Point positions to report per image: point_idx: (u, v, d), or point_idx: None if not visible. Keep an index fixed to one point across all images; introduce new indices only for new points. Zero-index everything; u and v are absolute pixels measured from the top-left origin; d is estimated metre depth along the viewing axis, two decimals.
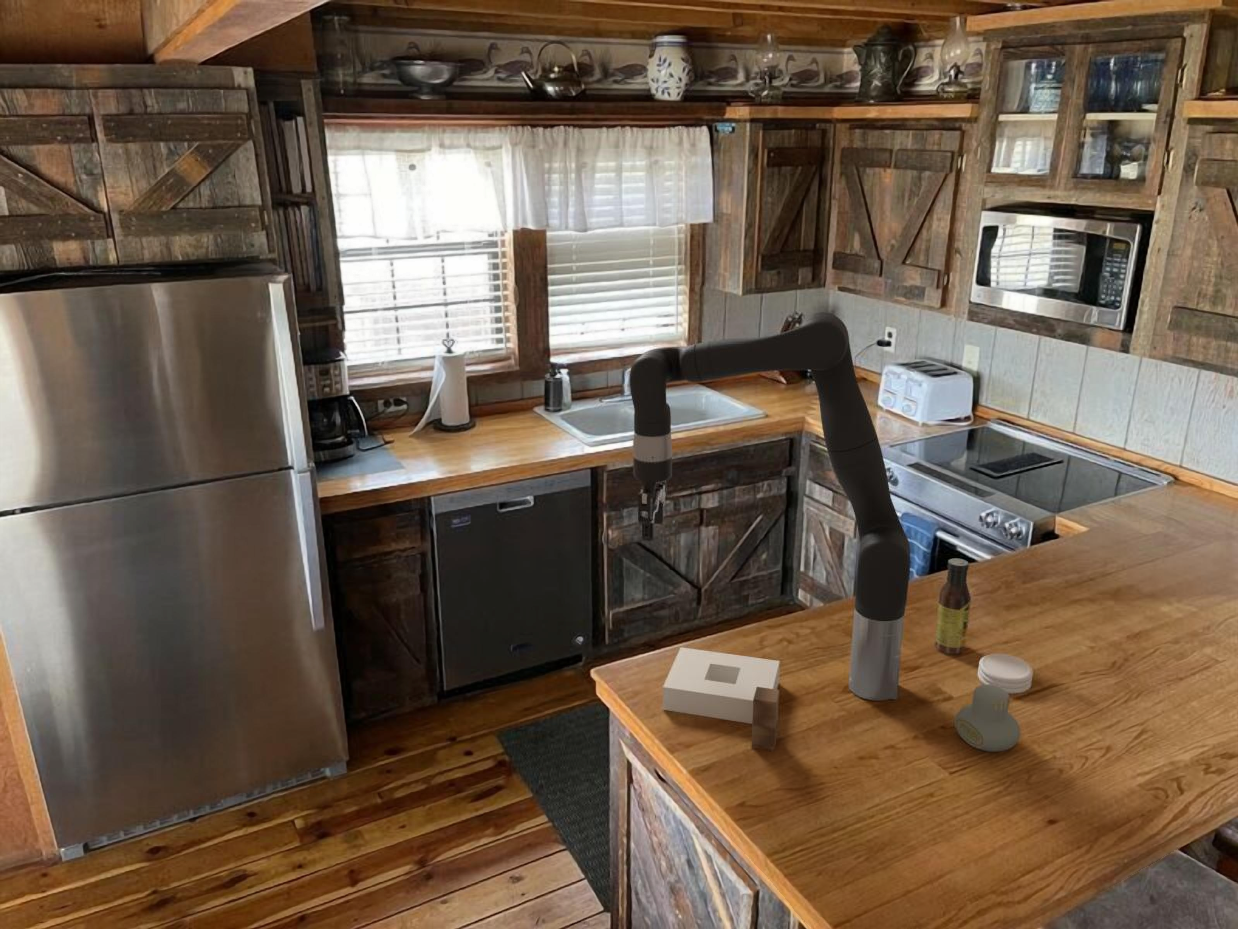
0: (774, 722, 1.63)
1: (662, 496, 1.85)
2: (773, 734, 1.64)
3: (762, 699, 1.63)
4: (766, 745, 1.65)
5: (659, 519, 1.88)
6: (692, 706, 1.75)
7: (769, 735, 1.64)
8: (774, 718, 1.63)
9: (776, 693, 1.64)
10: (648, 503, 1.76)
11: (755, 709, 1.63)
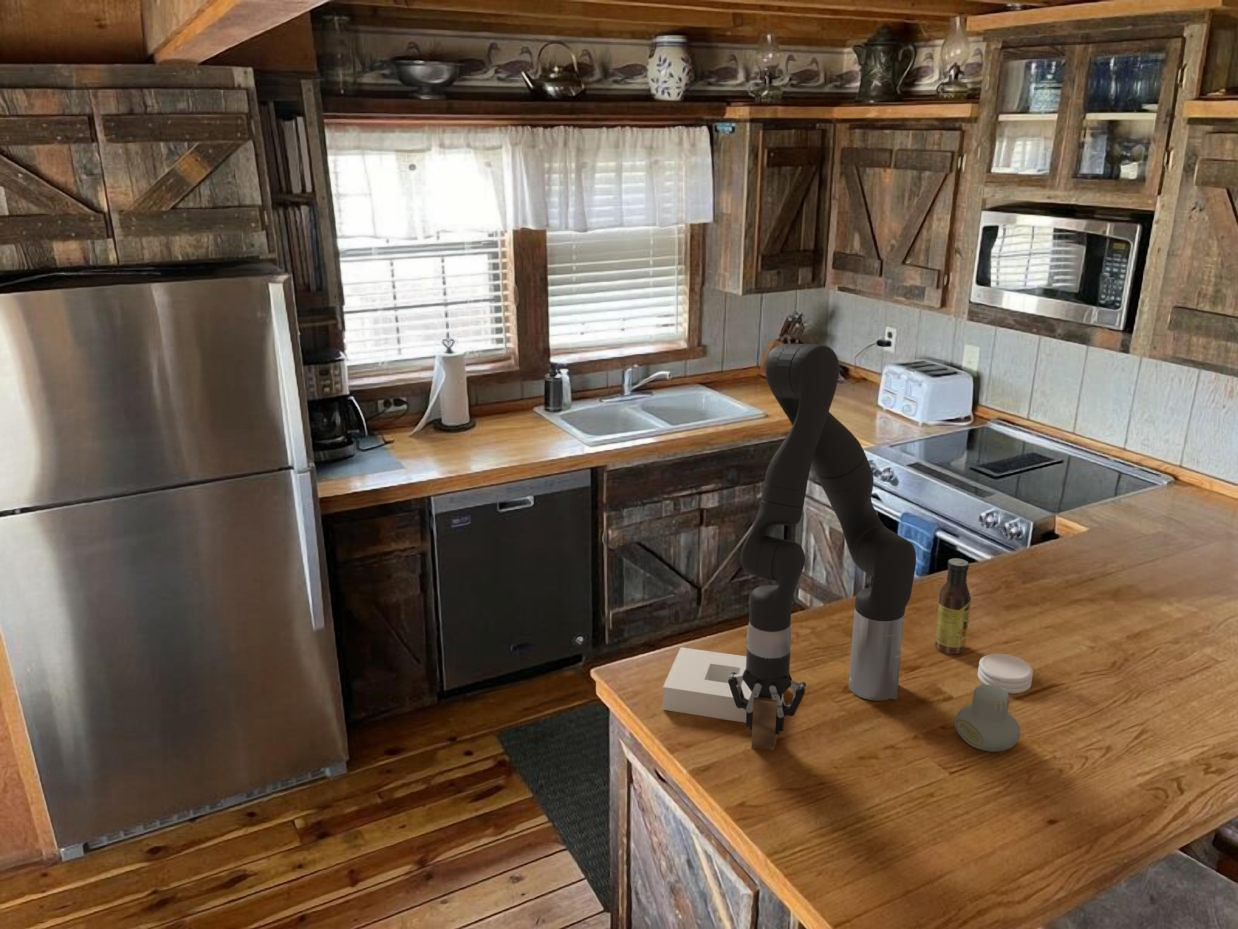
0: (774, 722, 1.63)
1: None
2: (773, 734, 1.64)
3: (762, 699, 1.62)
4: (766, 745, 1.65)
5: None
6: (692, 706, 1.75)
7: (769, 735, 1.64)
8: (774, 718, 1.63)
9: None
10: None
11: (756, 709, 1.63)
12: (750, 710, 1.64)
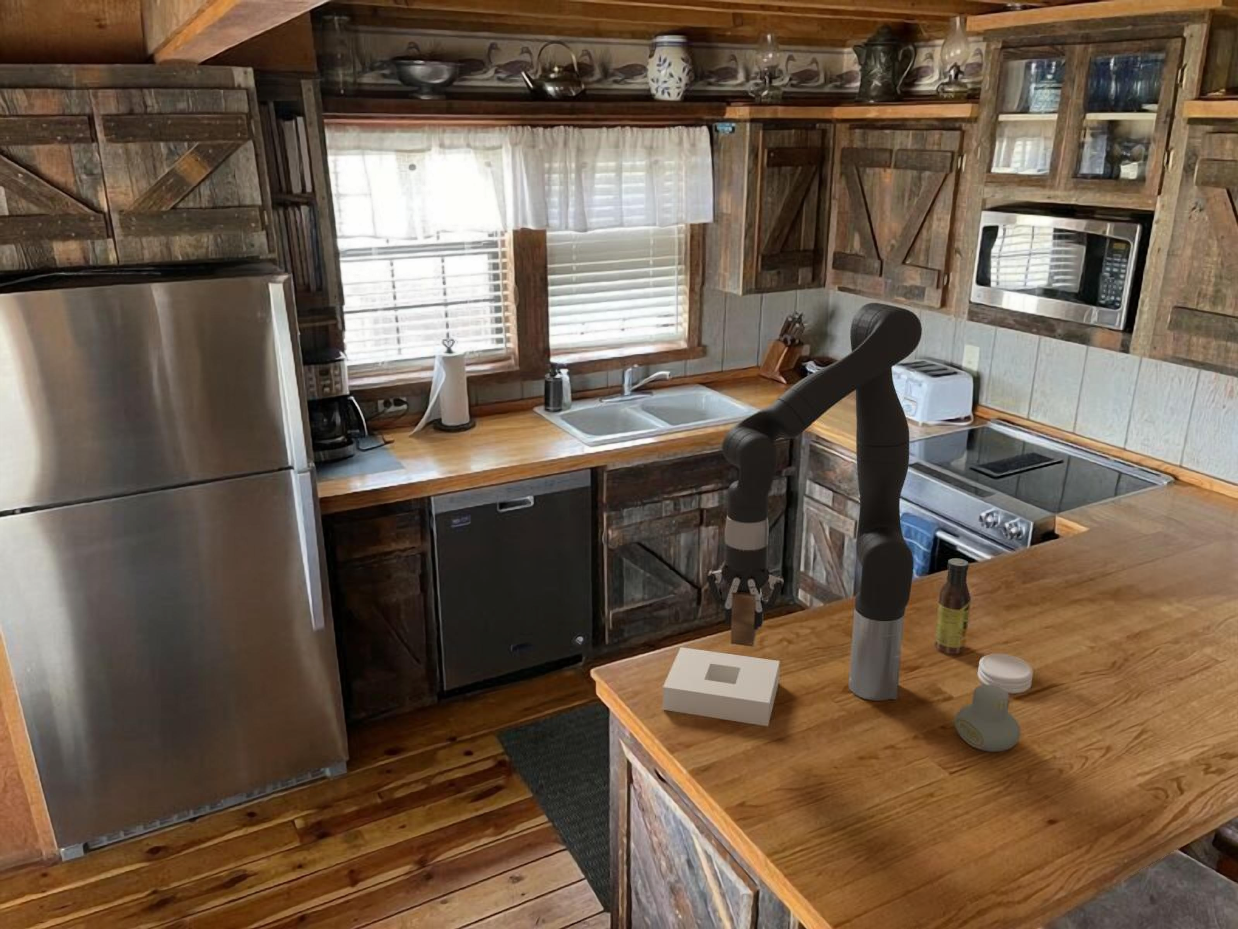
0: (753, 617, 1.65)
1: None
2: (752, 629, 1.66)
3: (741, 594, 1.65)
4: (745, 641, 1.67)
5: None
6: (692, 706, 1.75)
7: (748, 630, 1.66)
8: (753, 613, 1.65)
9: None
10: None
11: (734, 604, 1.65)
12: (729, 606, 1.66)
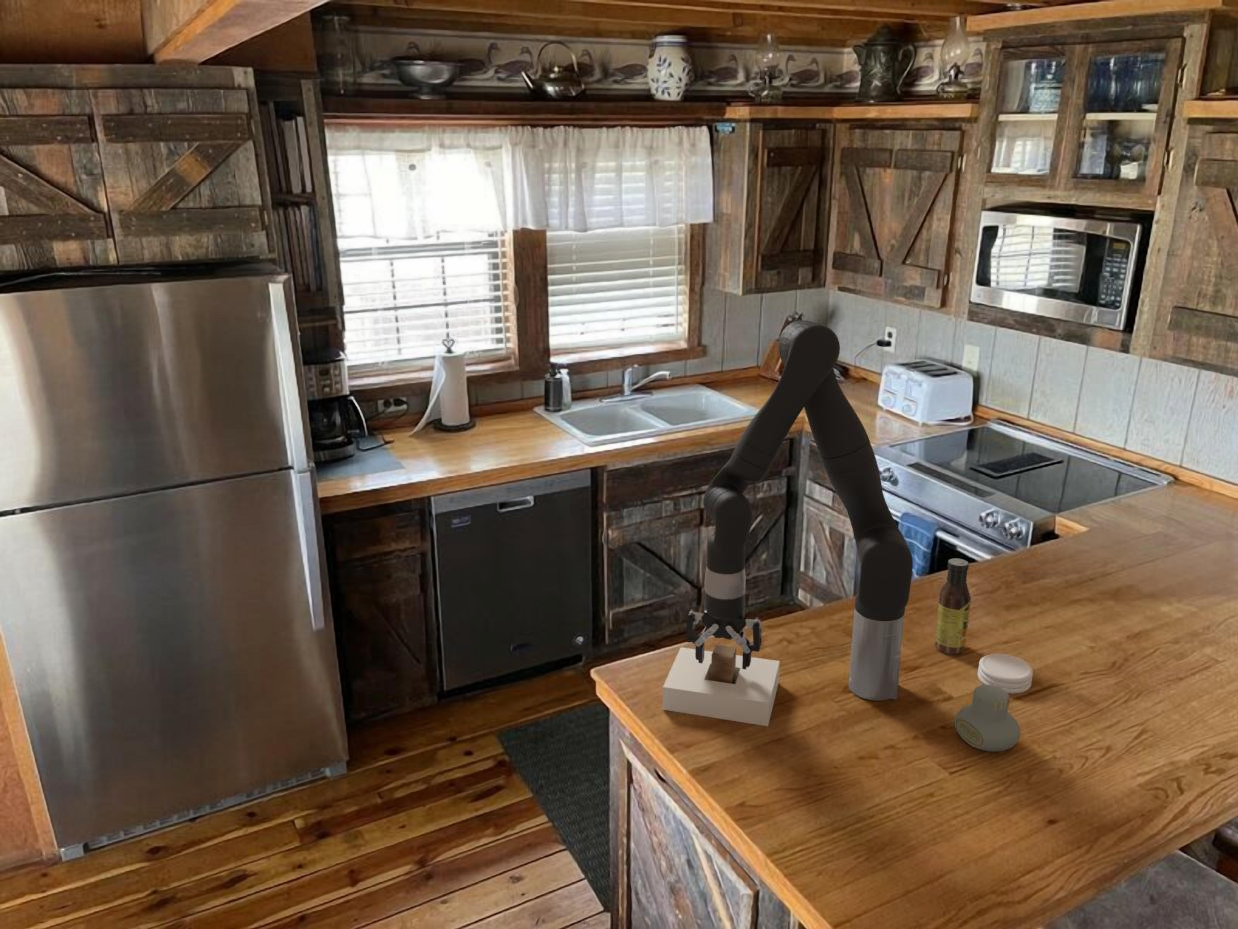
0: (731, 676, 1.77)
1: None
2: None
3: (720, 655, 1.76)
4: None
5: (703, 656, 1.80)
6: (692, 706, 1.75)
7: None
8: (730, 673, 1.77)
9: (733, 650, 1.78)
10: None
11: (714, 664, 1.77)
12: (699, 644, 1.77)
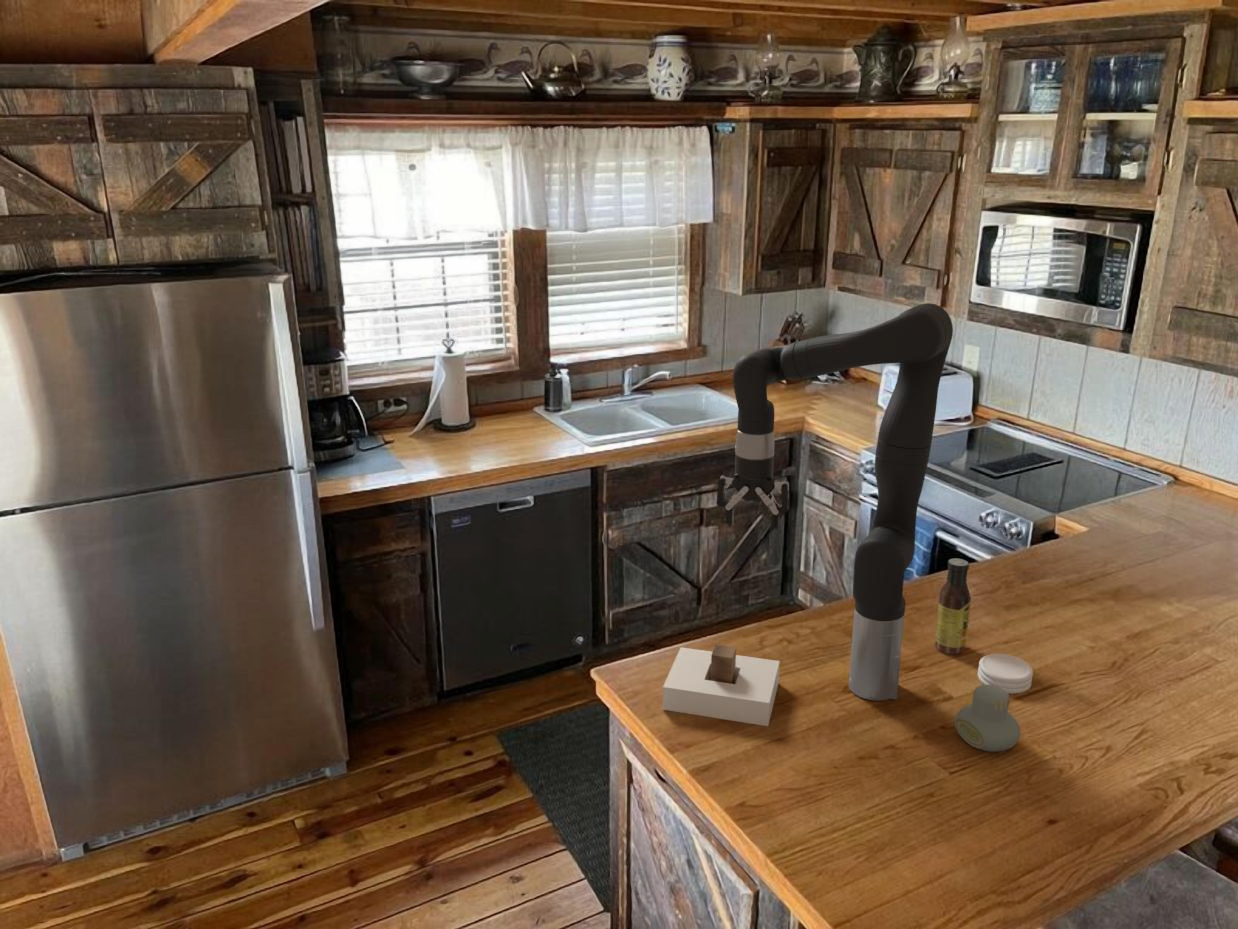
0: (730, 676, 1.77)
1: None
2: None
3: (719, 655, 1.76)
4: None
5: (733, 520, 1.89)
6: (692, 706, 1.75)
7: None
8: (730, 673, 1.77)
9: (733, 650, 1.78)
10: (788, 489, 1.84)
11: (713, 664, 1.77)
12: (729, 507, 1.87)
